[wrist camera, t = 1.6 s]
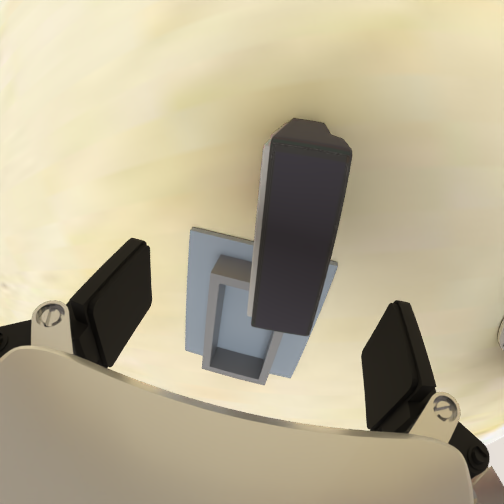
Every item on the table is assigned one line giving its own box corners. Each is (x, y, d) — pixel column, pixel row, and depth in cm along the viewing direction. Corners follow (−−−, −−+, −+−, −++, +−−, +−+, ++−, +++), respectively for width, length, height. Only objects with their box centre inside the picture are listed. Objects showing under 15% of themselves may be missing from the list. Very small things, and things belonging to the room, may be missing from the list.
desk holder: (337, 262, 31) (339, 286, 27) (291, 374, 41) (287, 398, 37) (193, 227, 32) (176, 246, 28) (187, 346, 42) (176, 368, 38)
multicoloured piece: (284, 116, 25) (252, 134, 12) (331, 123, 24) (354, 149, 11) (271, 225, 30) (237, 327, 17) (313, 232, 30) (308, 340, 17)
